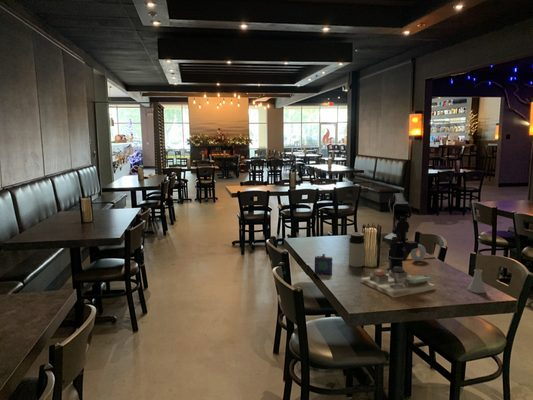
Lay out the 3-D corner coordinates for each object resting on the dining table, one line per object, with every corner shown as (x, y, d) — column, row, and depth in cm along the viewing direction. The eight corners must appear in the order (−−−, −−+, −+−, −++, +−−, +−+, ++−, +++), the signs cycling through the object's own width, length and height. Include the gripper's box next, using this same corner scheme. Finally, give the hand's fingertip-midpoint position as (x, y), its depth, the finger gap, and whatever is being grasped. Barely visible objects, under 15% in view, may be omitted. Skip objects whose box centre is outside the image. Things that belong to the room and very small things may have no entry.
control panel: (360, 282, 206) (361, 272, 205) (399, 275, 217) (400, 265, 216) (393, 297, 186) (394, 286, 185) (435, 289, 196) (435, 278, 196)
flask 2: (475, 294, 190) (477, 273, 188) (464, 289, 197) (465, 268, 195) (489, 293, 192) (490, 272, 190) (477, 287, 198) (478, 267, 197)
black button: (391, 271, 210) (391, 267, 209) (398, 270, 212) (398, 265, 211) (397, 274, 206) (398, 269, 205) (404, 273, 208) (404, 268, 207)
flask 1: (332, 273, 219) (332, 253, 218) (331, 275, 217) (332, 255, 215) (314, 272, 221) (314, 252, 220) (314, 274, 219) (314, 254, 217)
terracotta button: (372, 275, 205) (372, 270, 204) (379, 273, 206) (379, 269, 206) (378, 277, 201) (378, 272, 200) (385, 276, 202) (385, 271, 202)
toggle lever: (393, 284, 193) (389, 269, 195) (396, 283, 194) (392, 268, 196) (396, 283, 192) (392, 268, 194) (399, 283, 193) (395, 268, 194)
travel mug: (352, 267, 230) (353, 235, 227) (346, 263, 237) (347, 232, 235) (365, 266, 231) (366, 234, 229) (359, 262, 239) (360, 231, 236)
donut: (412, 263, 239) (413, 245, 237) (408, 261, 242) (409, 244, 241) (426, 261, 242) (427, 244, 241) (422, 259, 245) (423, 243, 244)
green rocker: (401, 281, 199) (401, 278, 199) (418, 278, 204) (418, 275, 204) (413, 283, 192) (413, 280, 192) (431, 279, 197) (431, 276, 197)
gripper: (374, 225, 210) (373, 256, 212) (402, 233, 194) (400, 265, 196) (391, 223, 215) (390, 253, 217) (419, 230, 198) (418, 262, 201)
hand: (399, 258), depth 208 cm, fingers open, 7 cm apart
